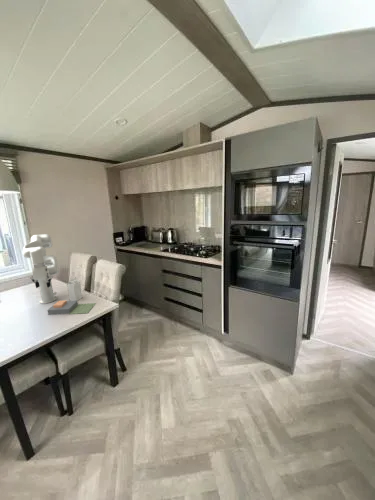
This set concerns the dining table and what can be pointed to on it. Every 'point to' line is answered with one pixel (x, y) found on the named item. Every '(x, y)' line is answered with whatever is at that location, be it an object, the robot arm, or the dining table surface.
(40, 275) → the robot arm
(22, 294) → the dining table surface
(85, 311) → the mat
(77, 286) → the milk carton
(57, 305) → the tile
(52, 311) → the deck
